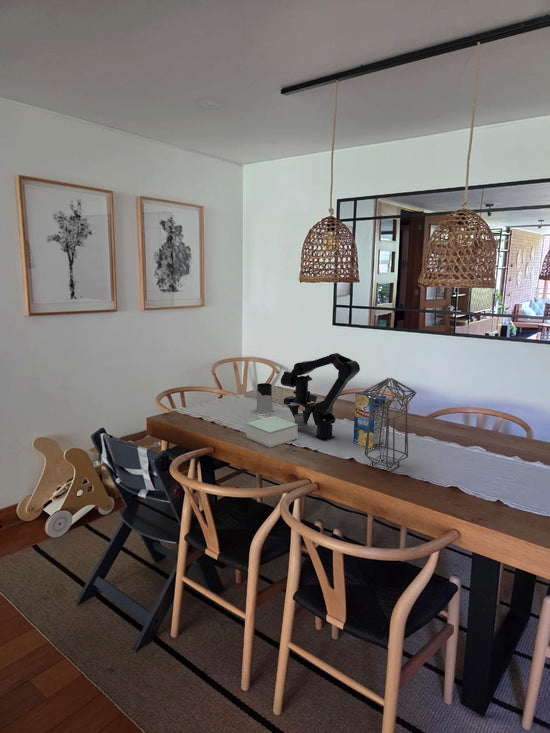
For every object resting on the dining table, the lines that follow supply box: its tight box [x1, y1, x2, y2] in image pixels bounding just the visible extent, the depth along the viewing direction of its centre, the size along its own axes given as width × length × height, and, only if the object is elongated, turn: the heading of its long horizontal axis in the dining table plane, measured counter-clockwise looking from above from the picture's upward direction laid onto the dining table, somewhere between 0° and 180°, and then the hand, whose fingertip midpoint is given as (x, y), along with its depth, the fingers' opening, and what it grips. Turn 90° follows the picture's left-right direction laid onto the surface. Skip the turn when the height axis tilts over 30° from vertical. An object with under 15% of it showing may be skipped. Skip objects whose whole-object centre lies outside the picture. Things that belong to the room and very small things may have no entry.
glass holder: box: [255, 382, 284, 416], centre depth 249 cm, size 9×14×15 cm, turn 105°
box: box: [245, 424, 299, 449], centre depth 212 cm, size 16×16×6 cm
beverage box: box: [352, 391, 387, 449], centre depth 204 cm, size 7×11×22 cm, turn 38°
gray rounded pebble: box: [294, 412, 309, 427], centre depth 222 cm, size 6×6×4 cm
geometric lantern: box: [361, 377, 417, 471], centre depth 180 cm, size 16×16×35 cm
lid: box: [245, 415, 299, 434], centre depth 211 cm, size 16×16×1 cm
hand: (301, 421), depth 222 cm, fingers closed on gray rounded pebble, 6 cm apart
